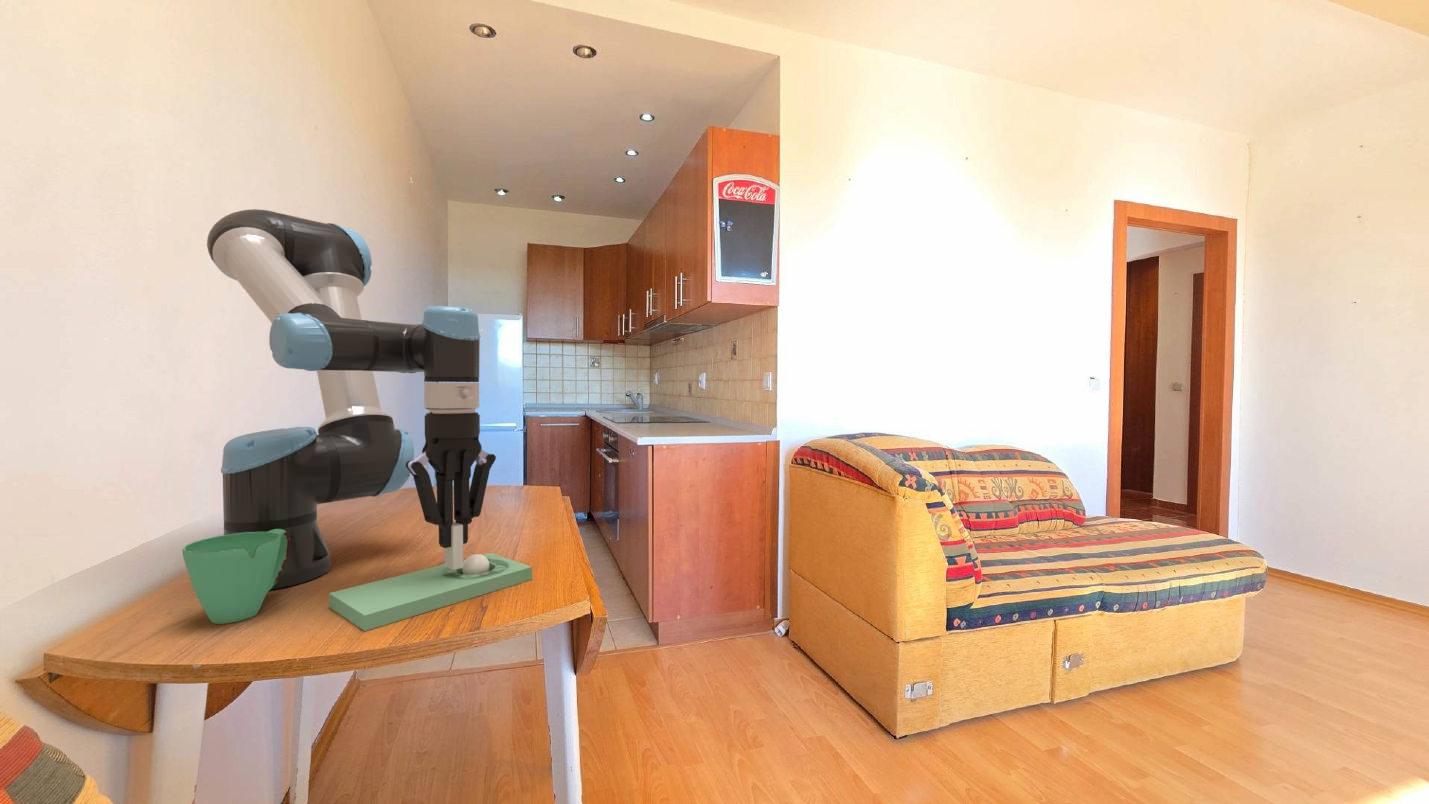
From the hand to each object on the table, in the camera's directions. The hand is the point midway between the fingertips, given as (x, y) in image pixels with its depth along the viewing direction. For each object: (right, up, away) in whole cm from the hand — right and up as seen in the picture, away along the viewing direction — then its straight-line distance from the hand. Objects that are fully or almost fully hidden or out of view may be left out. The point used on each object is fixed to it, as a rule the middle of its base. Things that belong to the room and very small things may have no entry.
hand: (453, 566), depth 85 cm
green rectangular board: (-2, -3, -2) cm, 4 cm away
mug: (-24, -4, -8) cm, 26 cm away
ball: (+2, -1, +4) cm, 4 cm away
